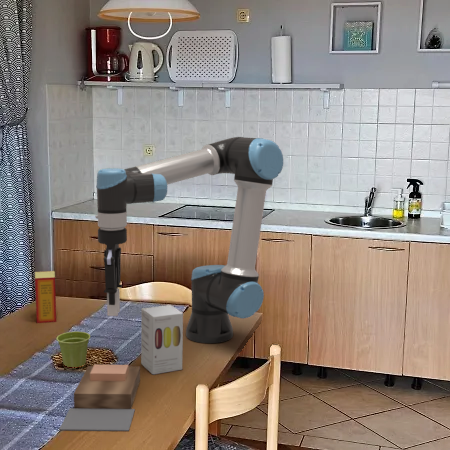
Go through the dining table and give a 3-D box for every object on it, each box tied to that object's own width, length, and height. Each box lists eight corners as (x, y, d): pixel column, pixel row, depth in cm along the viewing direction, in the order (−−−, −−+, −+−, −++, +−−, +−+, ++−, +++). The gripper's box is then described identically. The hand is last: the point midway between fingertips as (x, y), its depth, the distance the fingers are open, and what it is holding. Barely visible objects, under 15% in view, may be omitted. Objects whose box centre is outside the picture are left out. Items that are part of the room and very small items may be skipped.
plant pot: (74, 374, 192) (74, 344, 191) (50, 367, 197) (49, 338, 195) (98, 364, 200) (97, 335, 198) (73, 357, 205) (73, 329, 203)
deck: (140, 380, 189) (139, 366, 188) (131, 409, 171) (130, 394, 170) (88, 379, 189) (88, 365, 188) (74, 408, 171) (73, 393, 170)
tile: (128, 372, 184) (128, 364, 184) (125, 381, 178) (125, 373, 178) (94, 371, 184) (94, 364, 184) (90, 380, 178) (90, 373, 178)
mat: (134, 410, 171) (134, 408, 171) (128, 431, 160) (128, 429, 160) (69, 409, 171) (69, 408, 171) (59, 430, 160) (59, 429, 160)
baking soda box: (36, 314, 244) (35, 270, 242) (55, 313, 246) (54, 269, 243) (36, 323, 235) (34, 277, 233) (56, 321, 237) (54, 276, 234)
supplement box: (152, 375, 192) (151, 317, 189) (140, 364, 200) (139, 307, 197) (183, 369, 197) (183, 312, 194) (170, 358, 205) (170, 303, 202)
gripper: (103, 222, 190) (104, 305, 194) (92, 233, 174) (94, 322, 179) (130, 222, 190) (131, 305, 194) (122, 233, 174) (123, 323, 179)
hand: (113, 313), depth 186 cm, fingers open, 3 cm apart
